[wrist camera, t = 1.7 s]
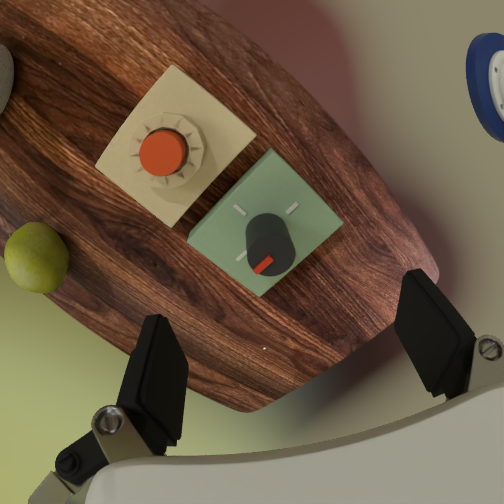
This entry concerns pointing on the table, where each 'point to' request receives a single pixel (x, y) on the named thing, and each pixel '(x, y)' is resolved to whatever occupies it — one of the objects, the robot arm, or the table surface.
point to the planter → (5, 76)
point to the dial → (269, 245)
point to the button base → (193, 134)
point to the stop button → (162, 153)
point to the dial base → (258, 202)
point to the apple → (36, 258)
